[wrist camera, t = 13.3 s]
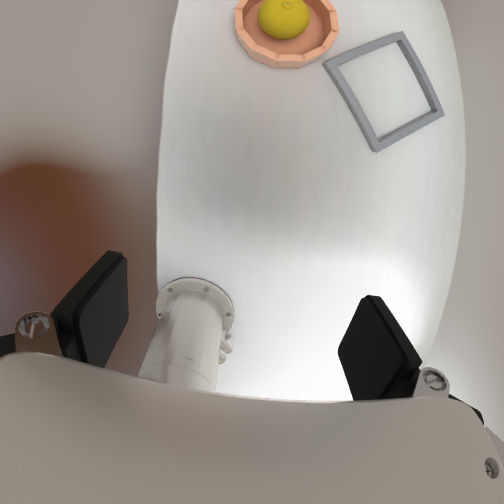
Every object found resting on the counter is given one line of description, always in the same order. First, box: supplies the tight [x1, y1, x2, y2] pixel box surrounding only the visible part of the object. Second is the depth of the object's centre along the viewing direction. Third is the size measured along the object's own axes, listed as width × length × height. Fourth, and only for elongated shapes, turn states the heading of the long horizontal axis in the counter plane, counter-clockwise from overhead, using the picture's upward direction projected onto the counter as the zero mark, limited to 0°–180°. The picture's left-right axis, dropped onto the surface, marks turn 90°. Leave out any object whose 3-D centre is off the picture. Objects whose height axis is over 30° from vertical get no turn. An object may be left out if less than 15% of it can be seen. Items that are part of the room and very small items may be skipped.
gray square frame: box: [323, 31, 445, 153], centre depth 28 cm, size 13×13×2 cm
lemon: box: [257, 0, 310, 40], centre depth 22 cm, size 6×6×8 cm
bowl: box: [234, 0, 339, 68], centre depth 24 cm, size 11×11×4 cm
